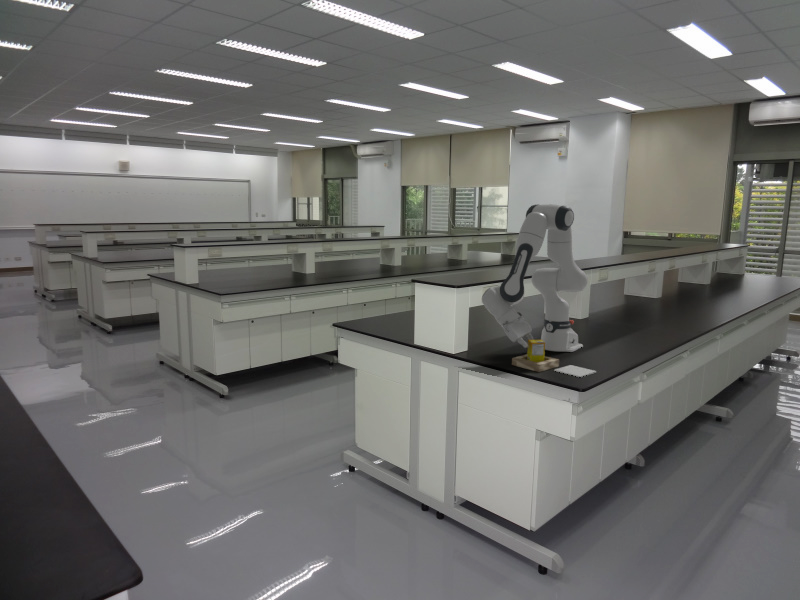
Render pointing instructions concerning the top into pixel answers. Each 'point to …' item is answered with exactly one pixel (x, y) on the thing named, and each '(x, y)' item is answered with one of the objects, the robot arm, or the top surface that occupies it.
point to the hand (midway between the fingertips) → (530, 344)
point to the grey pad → (575, 371)
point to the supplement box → (536, 350)
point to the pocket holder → (535, 363)
